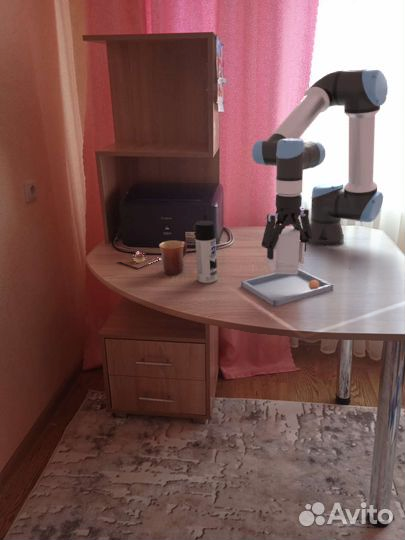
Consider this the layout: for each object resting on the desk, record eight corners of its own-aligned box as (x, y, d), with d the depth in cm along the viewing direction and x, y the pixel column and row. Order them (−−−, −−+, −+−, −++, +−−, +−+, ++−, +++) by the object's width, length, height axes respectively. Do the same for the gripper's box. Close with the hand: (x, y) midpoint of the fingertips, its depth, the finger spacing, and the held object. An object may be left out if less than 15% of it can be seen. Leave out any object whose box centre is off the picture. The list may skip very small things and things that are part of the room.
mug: (175, 278, 161) (173, 250, 157) (156, 273, 166) (153, 246, 162) (196, 267, 170) (194, 240, 166) (177, 263, 175) (175, 236, 171)
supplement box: (298, 275, 142) (299, 234, 137) (273, 274, 143) (274, 234, 139) (298, 266, 148) (300, 227, 144) (274, 265, 150) (275, 227, 145)
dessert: (162, 261, 179) (161, 249, 177) (138, 271, 171) (137, 258, 169) (141, 255, 186) (140, 243, 185) (117, 264, 178) (116, 252, 176)
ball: (314, 287, 148) (314, 277, 146) (321, 290, 145) (321, 280, 144) (306, 289, 146) (306, 279, 145) (313, 292, 144) (313, 283, 142)
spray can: (213, 284, 155) (211, 226, 147) (194, 282, 157) (191, 224, 150) (219, 277, 160) (218, 220, 153) (201, 275, 163) (198, 219, 155)
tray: (296, 273, 160) (296, 267, 160) (332, 291, 146) (333, 284, 145) (241, 288, 151) (241, 281, 150) (274, 308, 136) (274, 301, 135)
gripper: (310, 187, 145) (307, 255, 153) (249, 196, 135) (249, 268, 143) (327, 190, 139) (323, 261, 147) (264, 201, 129) (263, 276, 137)
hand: (286, 265), depth 145 cm, fingers closed on supplement box, 10 cm apart
